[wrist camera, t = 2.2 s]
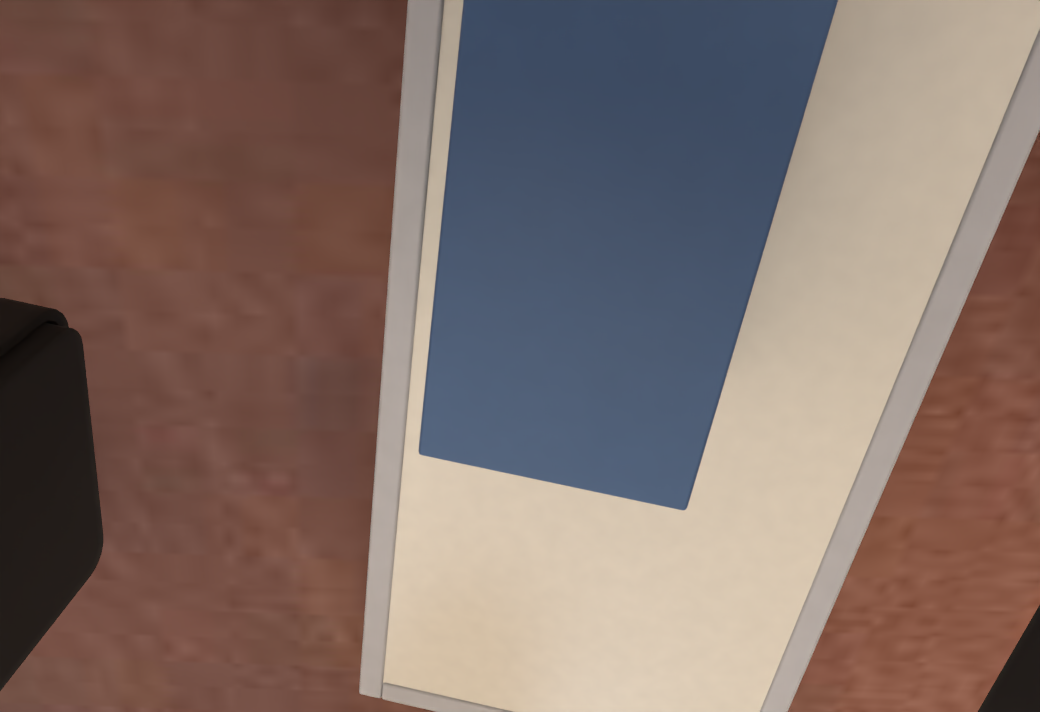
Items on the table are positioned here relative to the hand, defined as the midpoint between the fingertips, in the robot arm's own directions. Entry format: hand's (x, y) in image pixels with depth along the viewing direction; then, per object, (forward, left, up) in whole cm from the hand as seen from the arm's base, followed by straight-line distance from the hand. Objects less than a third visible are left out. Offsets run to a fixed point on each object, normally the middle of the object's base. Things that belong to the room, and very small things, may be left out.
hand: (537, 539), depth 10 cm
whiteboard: (+6, +1, -13) cm, 14 cm away
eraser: (0, 0, -12) cm, 12 cm away
